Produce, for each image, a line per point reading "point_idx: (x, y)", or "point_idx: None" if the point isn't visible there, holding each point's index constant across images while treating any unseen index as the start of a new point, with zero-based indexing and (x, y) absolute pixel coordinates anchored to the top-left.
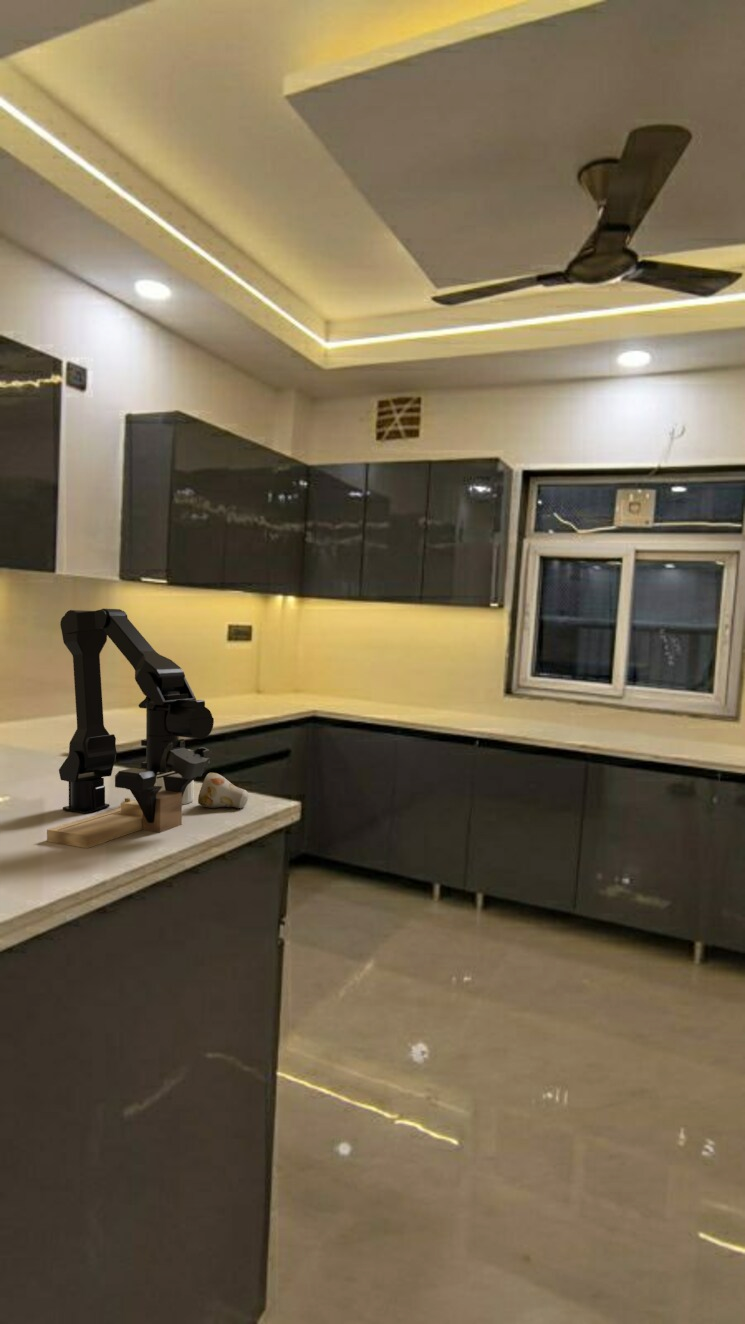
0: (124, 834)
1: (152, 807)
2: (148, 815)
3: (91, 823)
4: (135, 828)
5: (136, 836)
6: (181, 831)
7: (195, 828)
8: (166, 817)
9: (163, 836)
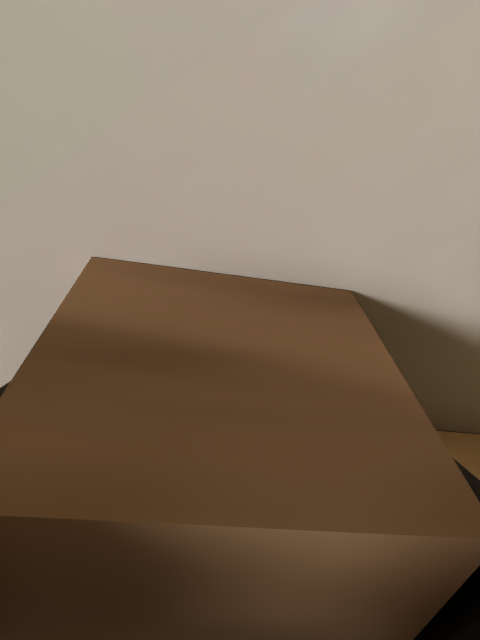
0: (444, 433)
1: (477, 486)
2: None
3: None
4: None
5: (460, 371)
6: (288, 145)
7: (146, 57)
8: (300, 337)
9: (458, 213)
